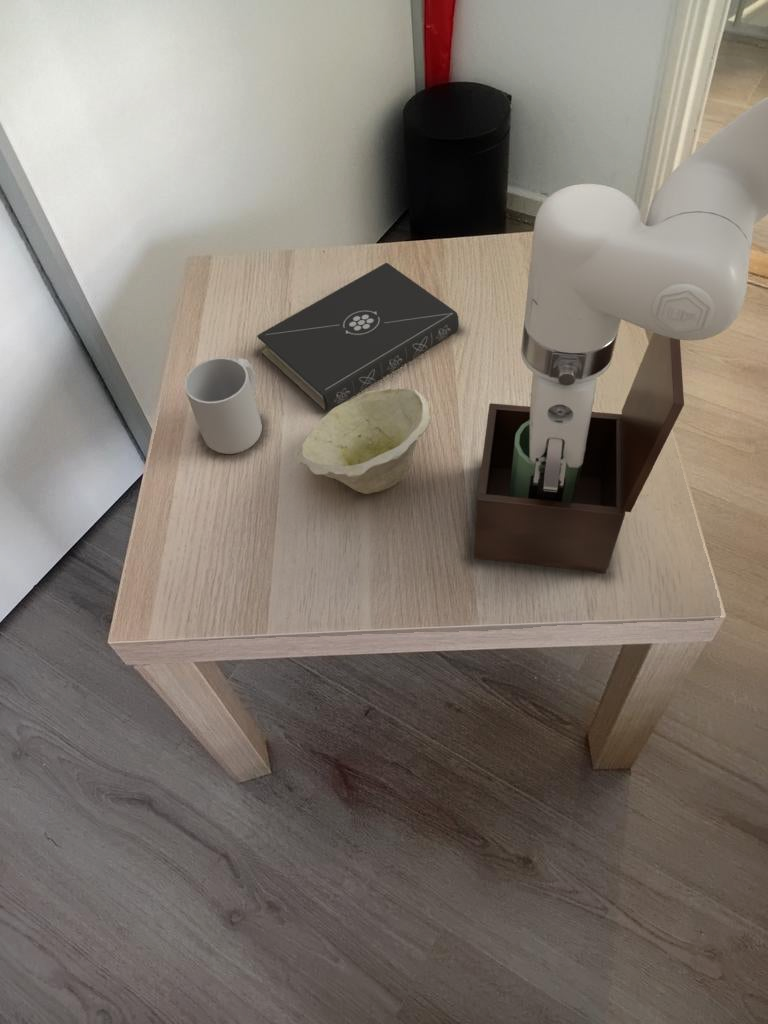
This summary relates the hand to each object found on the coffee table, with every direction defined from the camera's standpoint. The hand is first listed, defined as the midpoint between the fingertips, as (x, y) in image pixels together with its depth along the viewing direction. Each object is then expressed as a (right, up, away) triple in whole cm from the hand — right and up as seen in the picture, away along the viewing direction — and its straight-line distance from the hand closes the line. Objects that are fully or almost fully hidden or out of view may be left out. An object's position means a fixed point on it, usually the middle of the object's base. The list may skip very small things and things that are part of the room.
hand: (545, 473), depth 79 cm
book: (-19, +18, +24) cm, 36 cm away
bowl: (-18, +1, +11) cm, 21 cm away
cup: (-34, +7, +17) cm, 38 cm away
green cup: (0, -2, +3) cm, 4 cm away
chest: (+1, -4, +6) cm, 7 cm away
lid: (+7, +5, -10) cm, 13 cm away
